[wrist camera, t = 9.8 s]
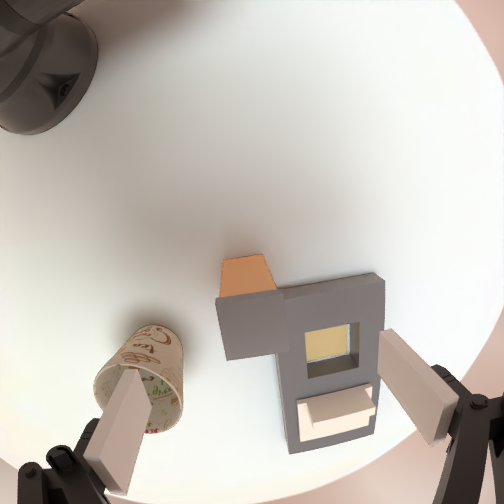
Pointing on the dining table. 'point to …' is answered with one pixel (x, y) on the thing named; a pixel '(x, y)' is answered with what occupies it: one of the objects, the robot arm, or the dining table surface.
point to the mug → (148, 374)
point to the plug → (250, 309)
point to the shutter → (335, 412)
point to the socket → (330, 348)
